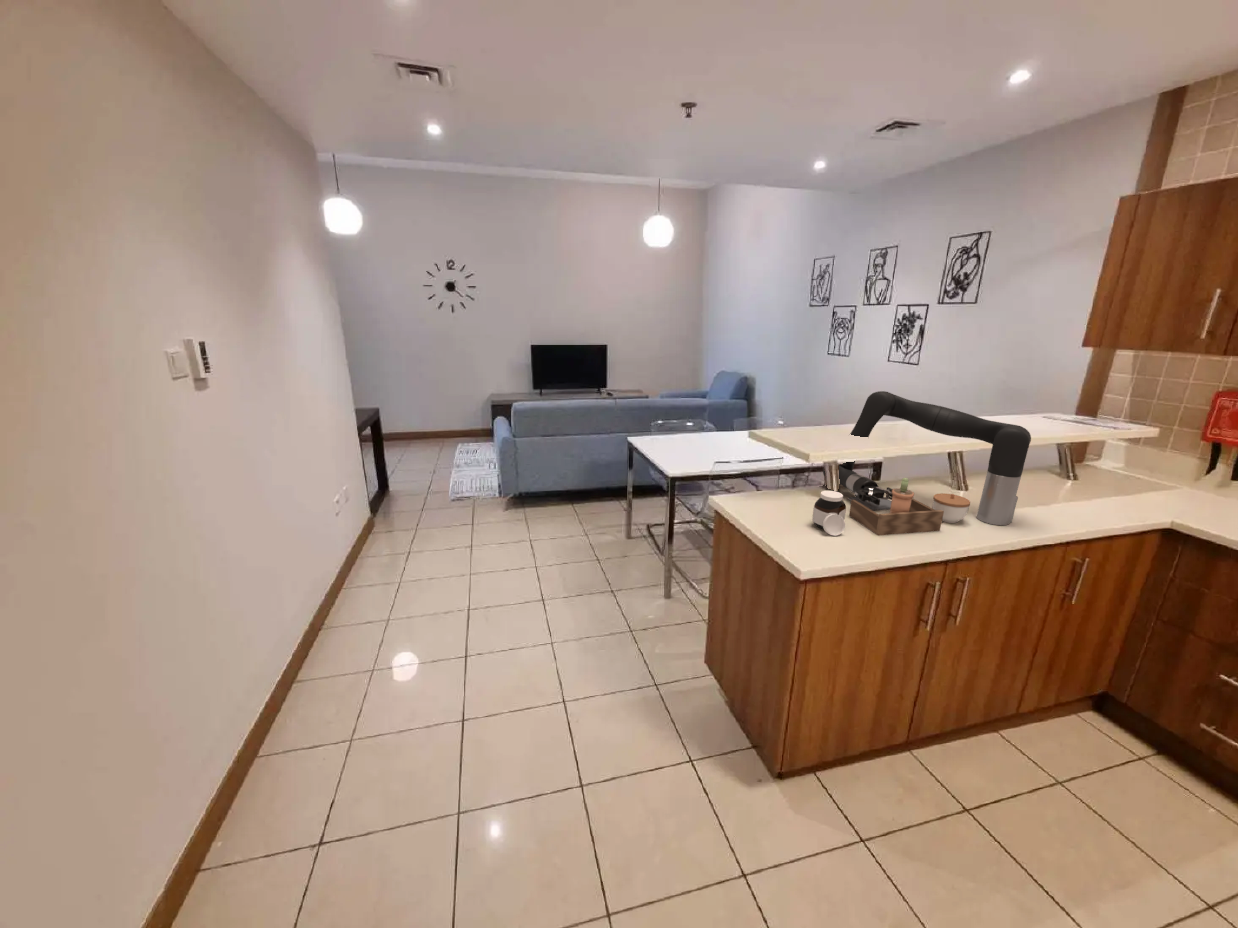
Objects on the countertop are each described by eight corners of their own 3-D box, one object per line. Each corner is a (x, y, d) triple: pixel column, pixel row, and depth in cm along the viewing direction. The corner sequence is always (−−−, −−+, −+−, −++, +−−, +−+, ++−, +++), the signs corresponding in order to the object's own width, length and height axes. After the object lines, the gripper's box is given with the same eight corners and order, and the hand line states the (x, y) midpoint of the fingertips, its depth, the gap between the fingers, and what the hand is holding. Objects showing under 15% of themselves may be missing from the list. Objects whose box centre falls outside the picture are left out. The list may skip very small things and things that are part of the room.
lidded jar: (932, 510, 181) (937, 486, 178) (967, 518, 175) (973, 493, 172) (926, 520, 173) (932, 495, 170) (963, 528, 167) (969, 502, 164)
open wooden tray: (905, 512, 180) (909, 493, 178) (939, 530, 165) (944, 511, 163) (849, 515, 177) (851, 497, 175) (878, 535, 162) (881, 515, 159)
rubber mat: (880, 496, 194) (881, 495, 194) (902, 508, 183) (902, 507, 183) (847, 498, 192) (848, 497, 192) (867, 510, 181) (867, 509, 181)
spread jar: (828, 519, 174) (832, 488, 170) (856, 531, 164) (861, 498, 161) (803, 526, 168) (807, 493, 165) (831, 539, 159) (836, 505, 155)
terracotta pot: (898, 521, 172) (907, 474, 167) (911, 528, 166) (921, 480, 161) (882, 522, 171) (890, 475, 166) (894, 530, 165) (903, 481, 160)
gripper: (845, 477, 185) (873, 492, 169) (880, 475, 187) (910, 490, 172) (842, 496, 187) (869, 513, 172) (877, 494, 189) (907, 510, 174)
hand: (890, 501), depth 172 cm, fingers open, 8 cm apart
